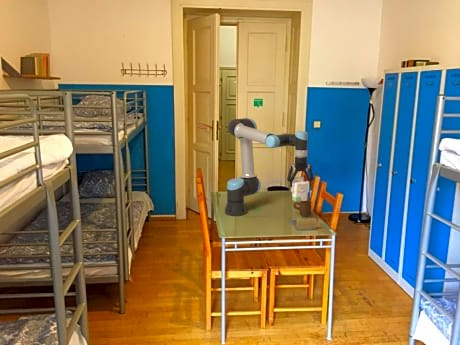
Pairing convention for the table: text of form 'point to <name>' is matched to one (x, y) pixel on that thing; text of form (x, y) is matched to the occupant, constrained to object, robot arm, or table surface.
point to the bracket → (304, 224)
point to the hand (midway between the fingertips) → (299, 191)
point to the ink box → (300, 190)
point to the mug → (304, 208)
